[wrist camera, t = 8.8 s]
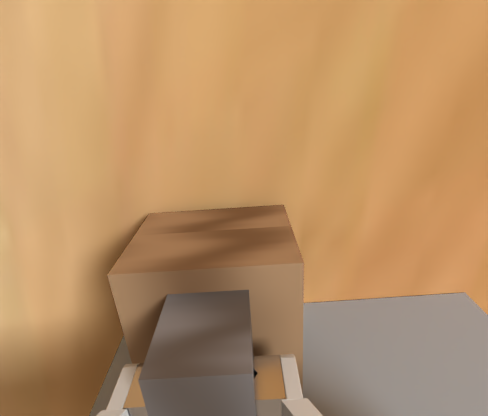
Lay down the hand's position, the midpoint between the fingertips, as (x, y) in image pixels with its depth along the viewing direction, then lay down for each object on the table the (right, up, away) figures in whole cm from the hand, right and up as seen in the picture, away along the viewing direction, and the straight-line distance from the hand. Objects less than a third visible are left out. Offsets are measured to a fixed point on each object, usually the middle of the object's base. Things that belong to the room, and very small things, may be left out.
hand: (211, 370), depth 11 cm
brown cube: (0, +3, +6) cm, 7 cm away
